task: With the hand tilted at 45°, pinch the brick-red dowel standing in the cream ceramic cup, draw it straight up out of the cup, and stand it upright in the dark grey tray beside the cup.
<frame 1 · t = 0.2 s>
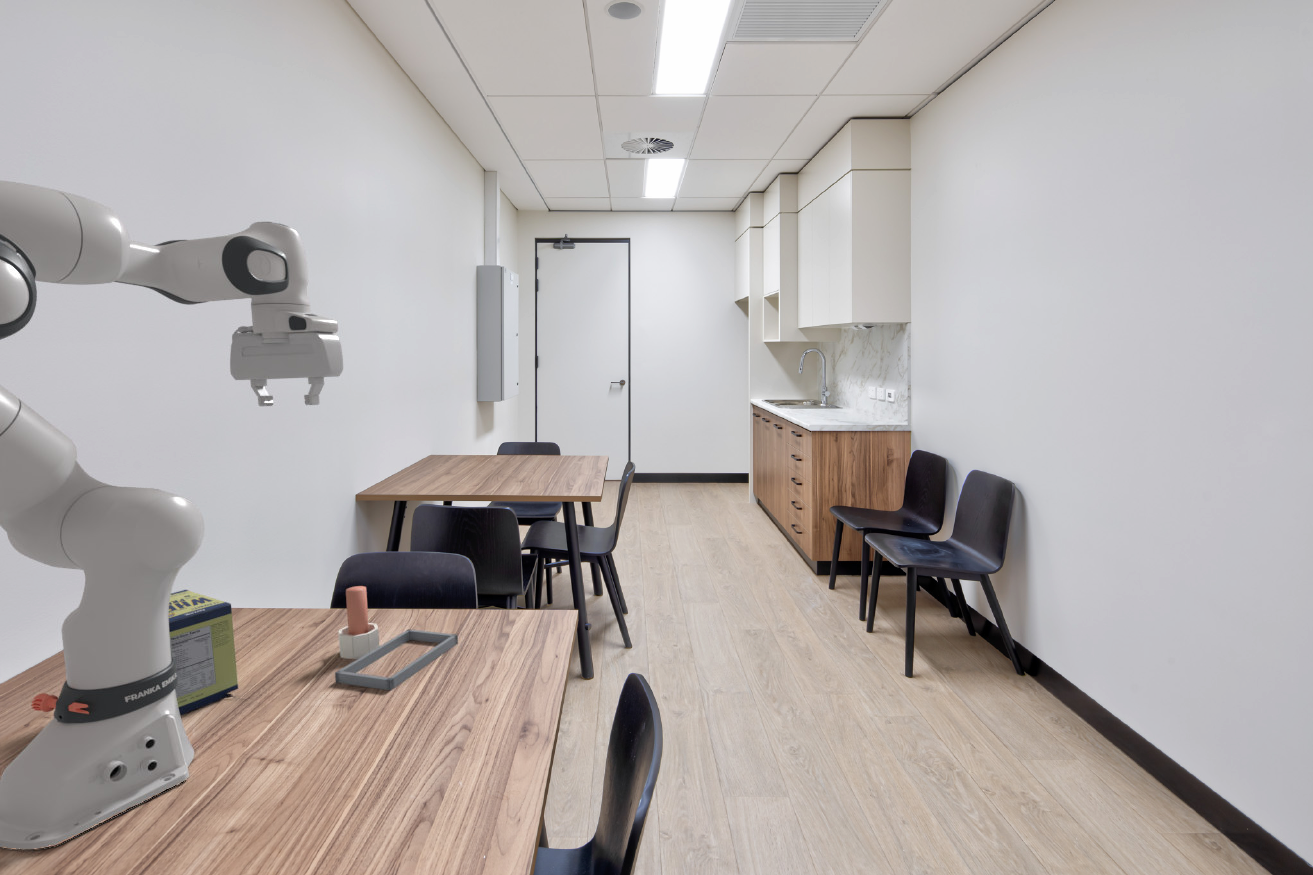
hand: (289, 405, 118), 48 cm above the table, tool pointing down, fingers open, 8 cm apart
cup: (359, 654, 131), on the table
protein box: (182, 695, 116), on the table
tray: (400, 665, 126), on the table
dowel: (359, 650, 131), point 1 cm above the table, touching cup
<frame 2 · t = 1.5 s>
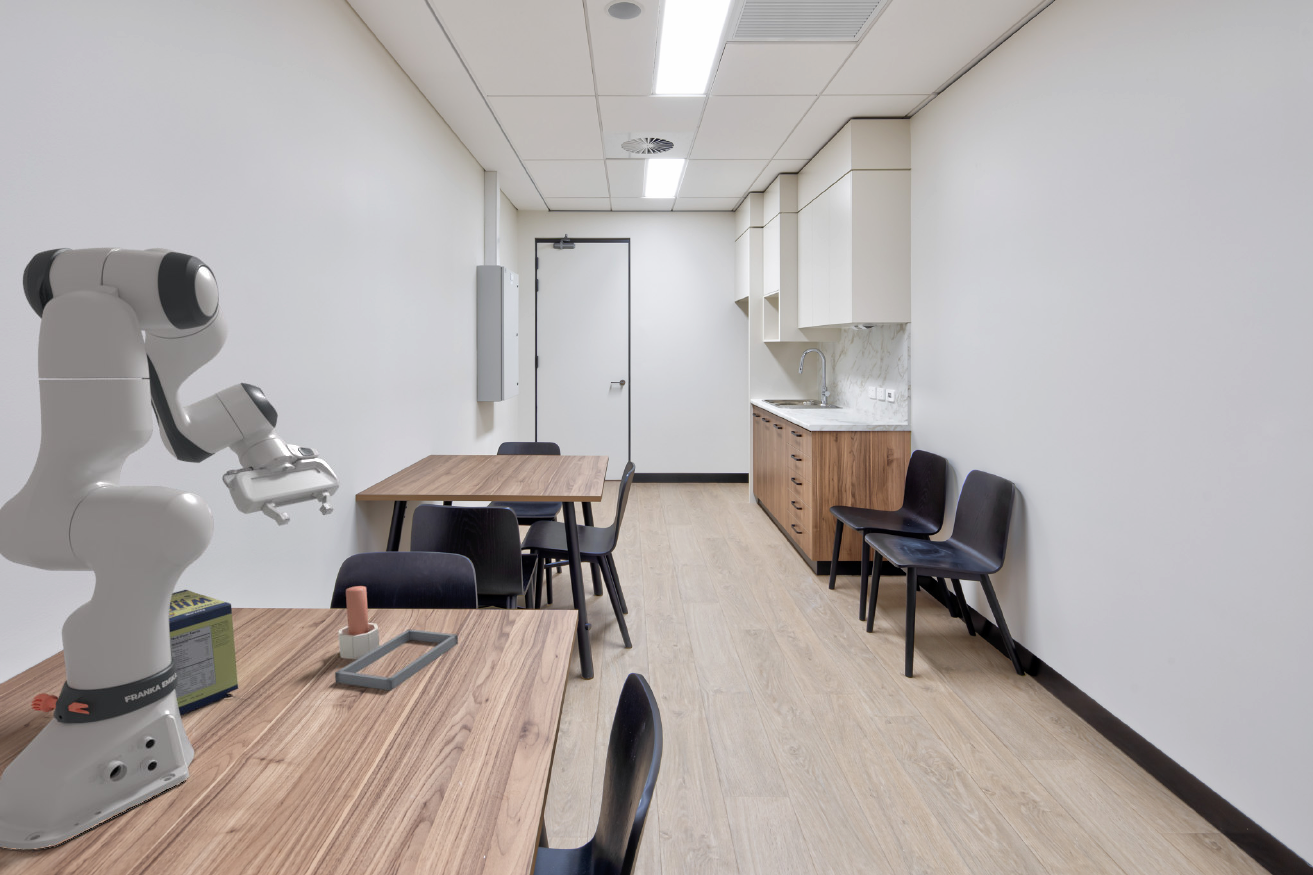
hand: (307, 517, 133), 25 cm above the table, tool tilted 45°, fingers open, 8 cm apart
nothing on the table moved.
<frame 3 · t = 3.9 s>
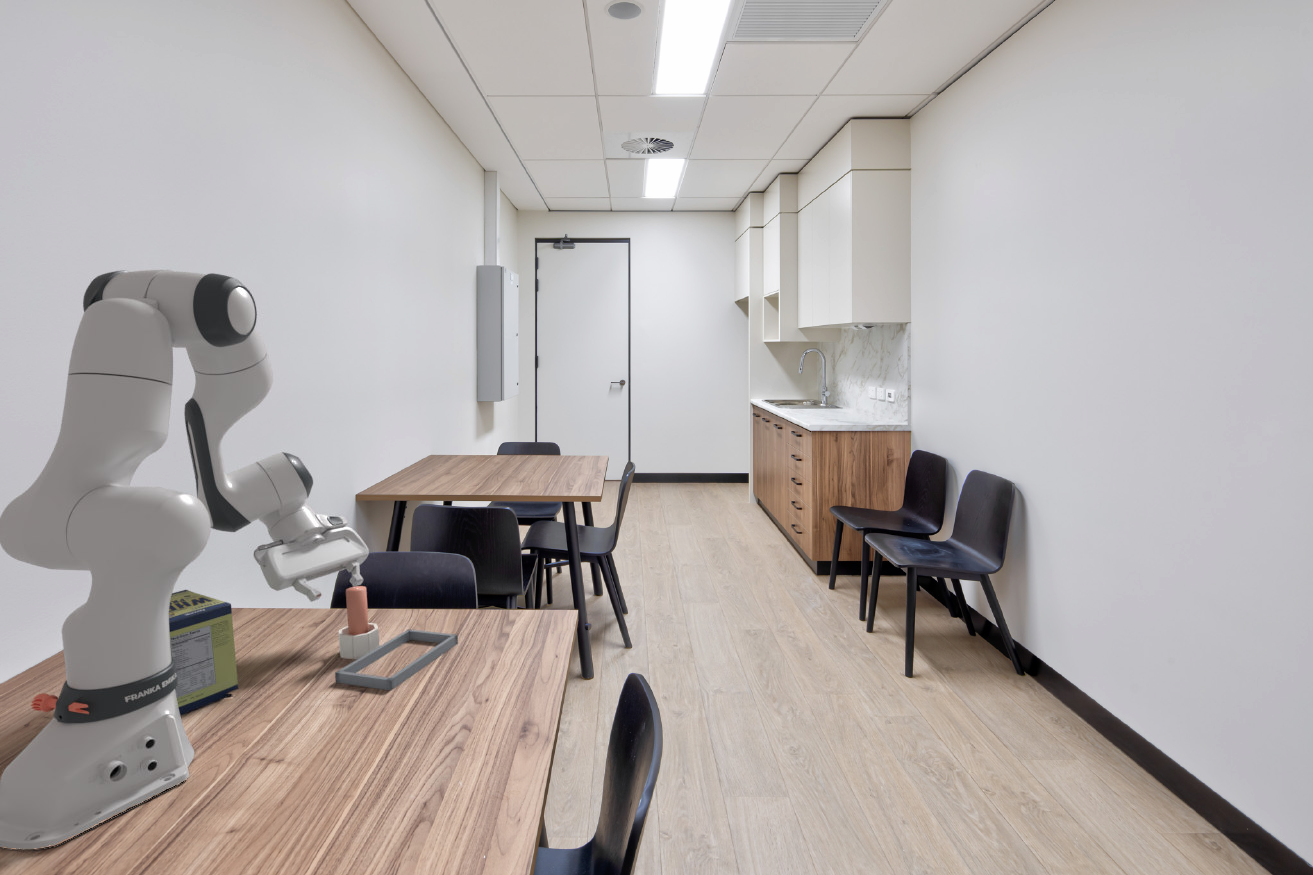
hand: (338, 591, 132), 12 cm above the table, tool tilted 45°, fingers open, 8 cm apart
nothing on the table moved.
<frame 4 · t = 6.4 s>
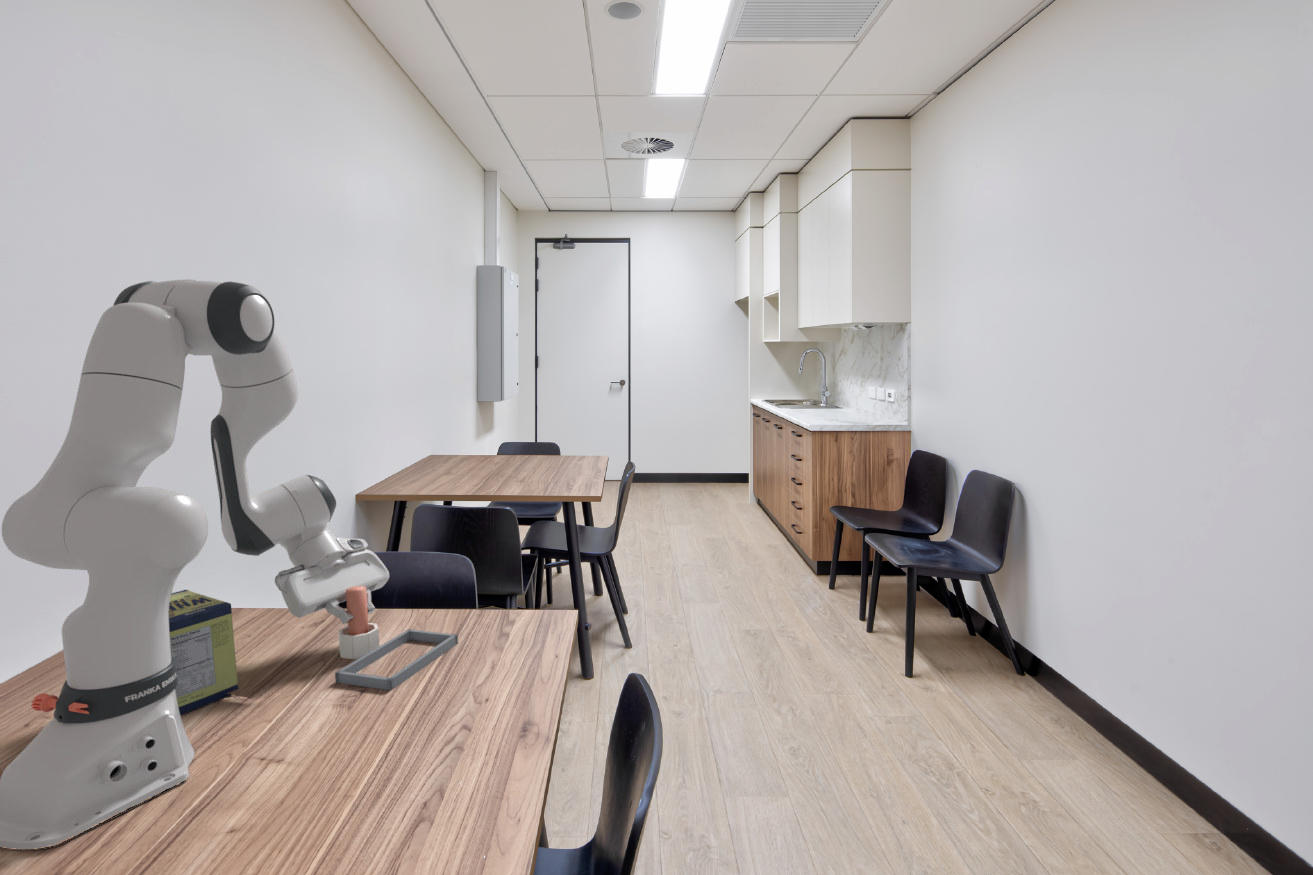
hand: (360, 616, 130), 8 cm above the table, tool tilted 45°, fingers closed on dowel, 3 cm apart
dowel: (359, 650, 131), point 1 cm above the table, touching cup, gripper
everything else where it was.
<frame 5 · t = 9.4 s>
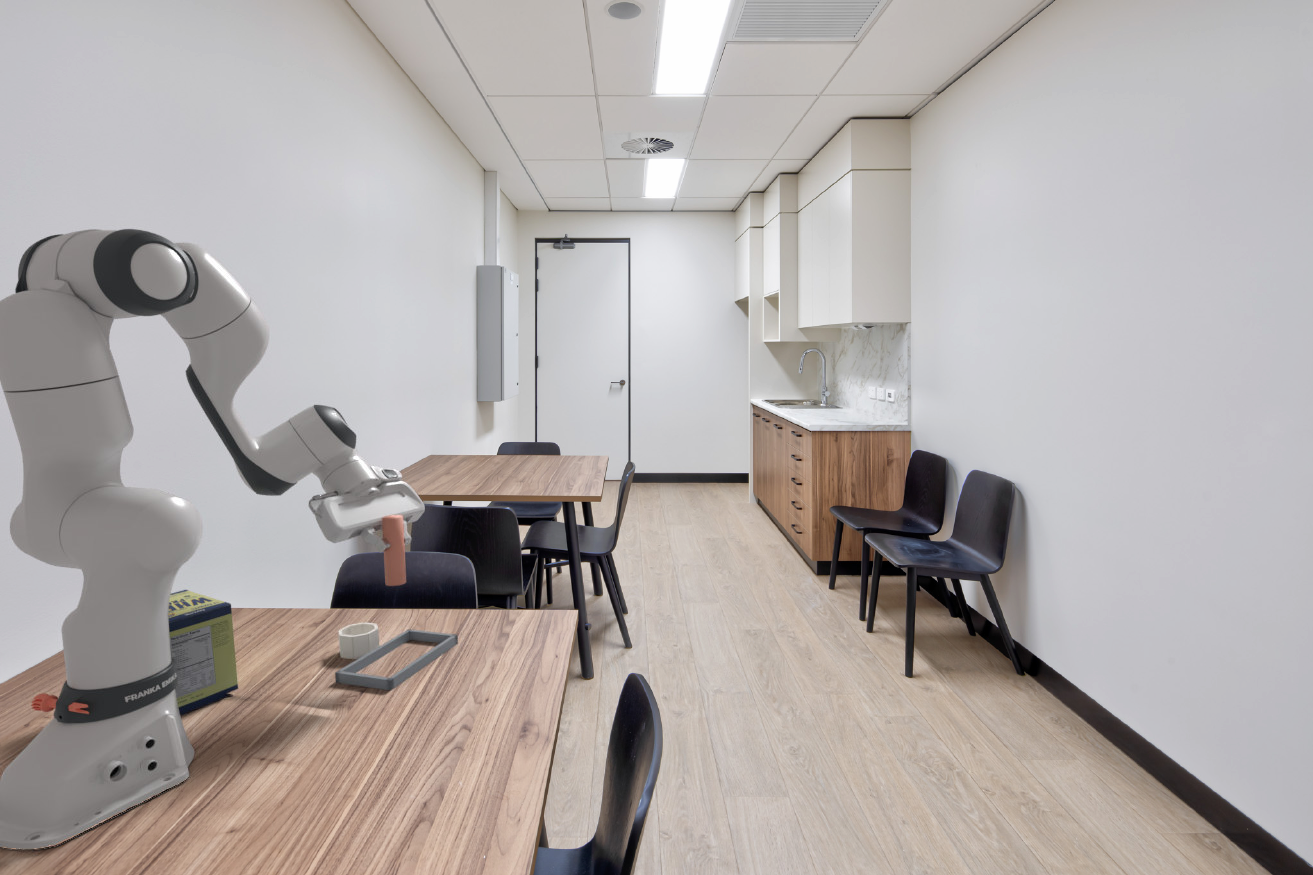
hand: (396, 546, 123), 22 cm above the table, tool tilted 45°, fingers closed on dowel, 3 cm apart
dowel: (395, 582, 124), point 15 cm above the table, touching gripper
everything else where it was.
when the fingers open (9 cm above the table, at t = 12.6 s): dowel drops 1 cm, resting on tray.
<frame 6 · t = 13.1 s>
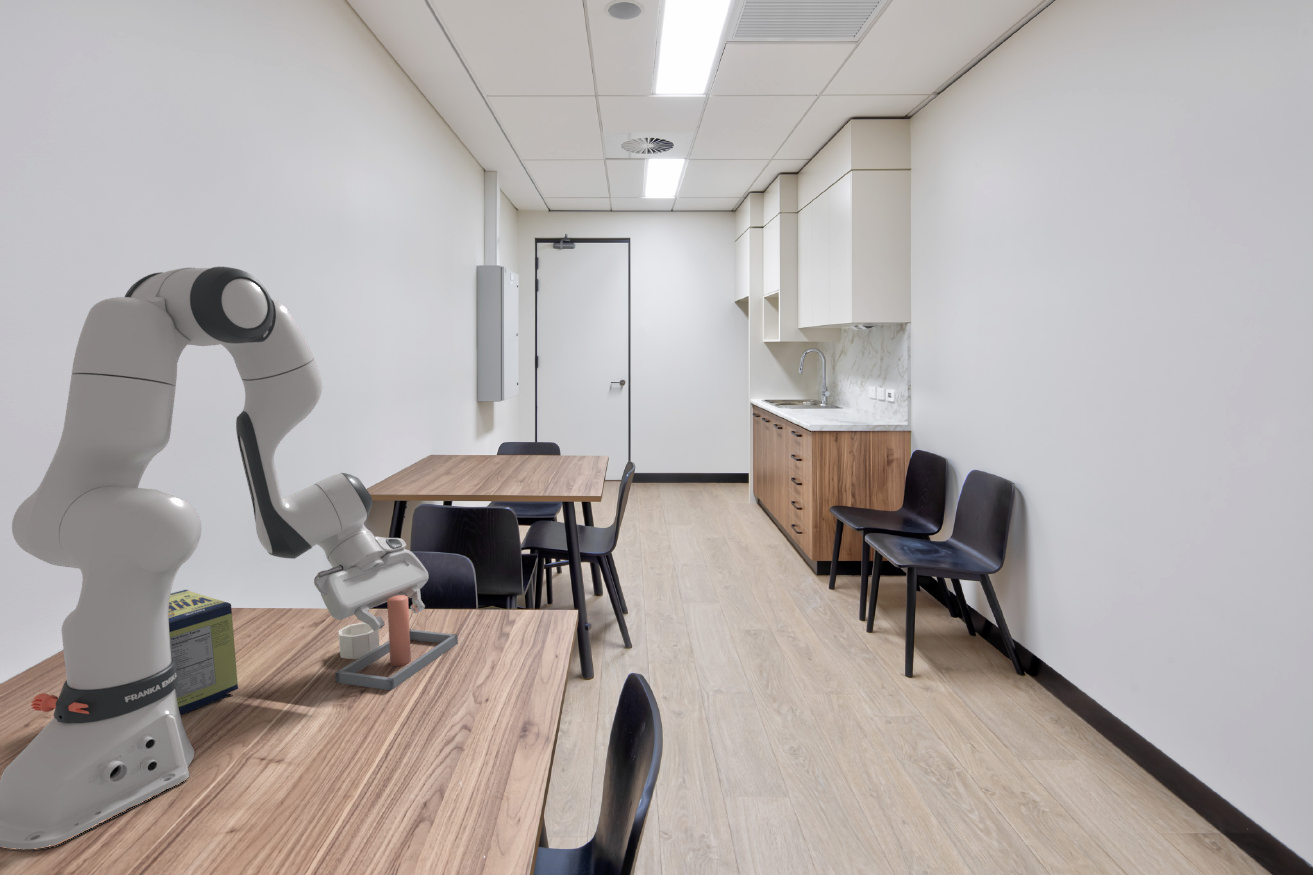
hand: (400, 619, 125), 9 cm above the table, tool tilted 45°, fingers open, 8 cm apart
dowel: (400, 662, 126), point 1 cm above the table, touching tray
everything else where it was.
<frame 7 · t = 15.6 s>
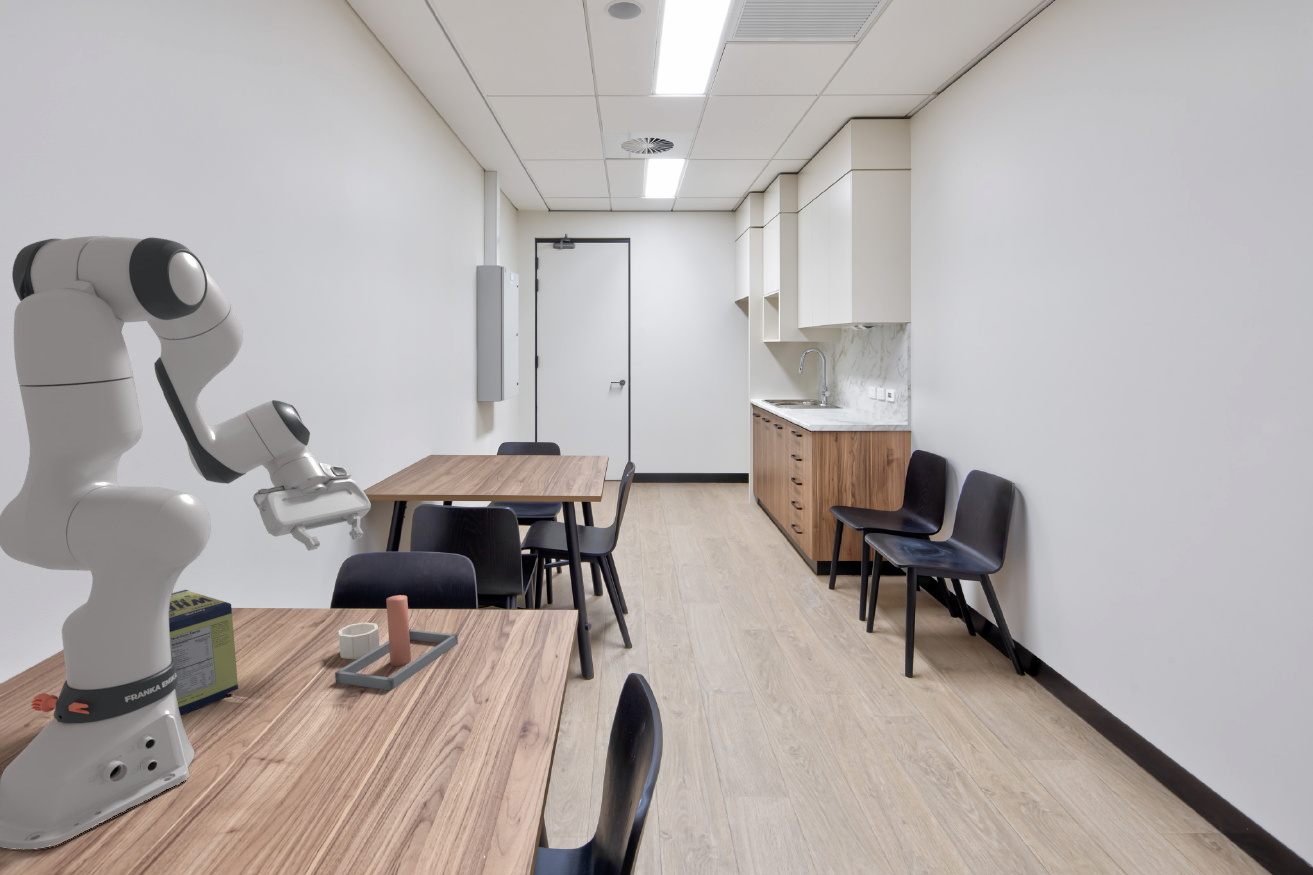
hand: (337, 542, 128), 22 cm above the table, tool tilted 40°, fingers open, 8 cm apart
nothing on the table moved.
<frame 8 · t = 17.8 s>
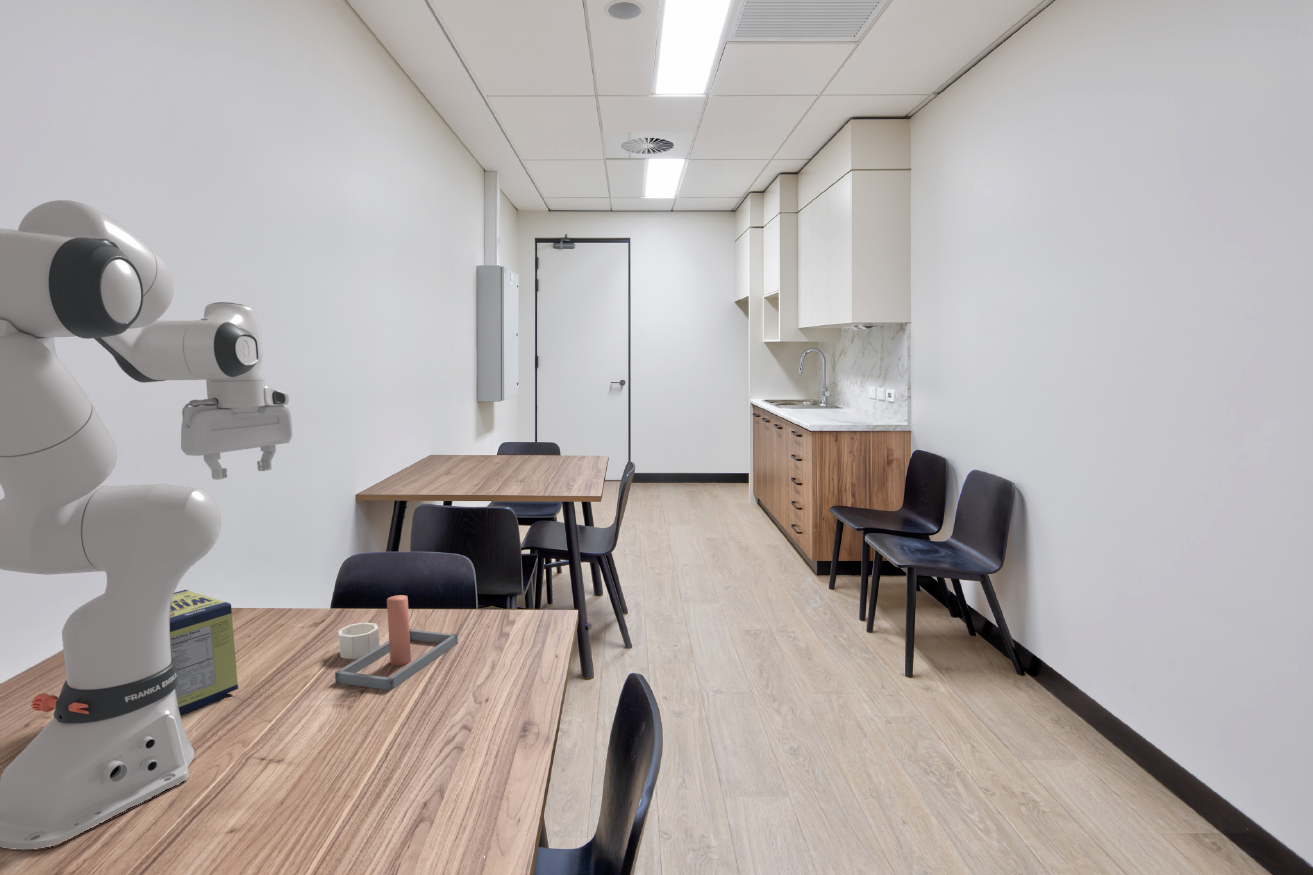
hand: (243, 474, 124), 35 cm above the table, tool pointing down, fingers open, 8 cm apart
nothing on the table moved.
at the end: dowel inside the target area on the tray (0.0 cm from its centre), point 0.6 cm above the tray's base; dowel tilted 0°; the gripper is holding nothing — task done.
